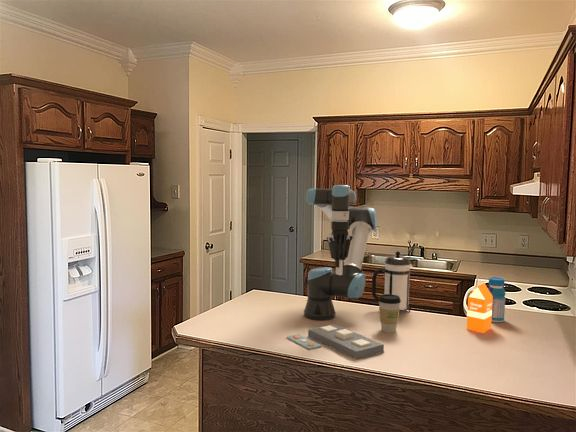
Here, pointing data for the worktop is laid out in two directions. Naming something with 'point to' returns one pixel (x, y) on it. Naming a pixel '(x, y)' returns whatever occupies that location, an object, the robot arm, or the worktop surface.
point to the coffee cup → (389, 311)
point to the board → (346, 342)
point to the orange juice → (479, 309)
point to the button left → (328, 329)
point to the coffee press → (395, 279)
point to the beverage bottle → (497, 298)
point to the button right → (361, 343)
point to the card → (303, 342)
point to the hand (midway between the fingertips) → (339, 274)
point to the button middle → (344, 334)
